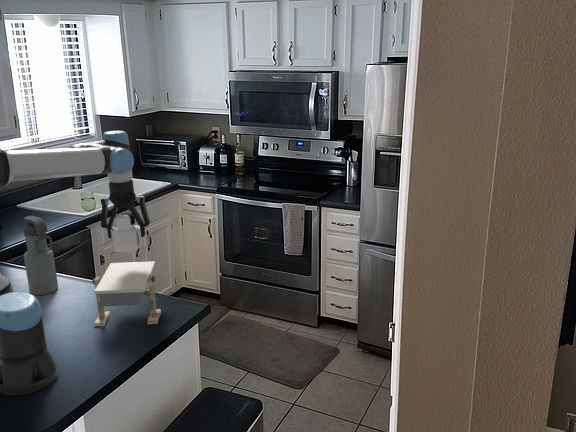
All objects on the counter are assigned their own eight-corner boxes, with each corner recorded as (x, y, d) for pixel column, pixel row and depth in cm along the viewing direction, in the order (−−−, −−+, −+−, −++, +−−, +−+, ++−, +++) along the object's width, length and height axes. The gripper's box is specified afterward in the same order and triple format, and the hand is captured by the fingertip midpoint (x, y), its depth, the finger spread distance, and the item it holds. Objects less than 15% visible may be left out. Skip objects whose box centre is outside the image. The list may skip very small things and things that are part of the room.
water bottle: (64, 288, 203) (53, 216, 195) (40, 298, 195) (28, 224, 187) (48, 282, 208) (36, 212, 200) (24, 292, 201) (11, 219, 192)
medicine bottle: (123, 244, 186) (119, 210, 182) (143, 245, 185) (139, 211, 181) (113, 251, 179) (109, 216, 176) (133, 252, 178) (129, 217, 174)
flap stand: (157, 323, 176) (153, 281, 171) (94, 326, 175) (88, 283, 170) (161, 312, 183) (157, 271, 179) (101, 315, 182) (95, 273, 178)
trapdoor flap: (145, 304, 171) (143, 289, 169) (96, 306, 170) (94, 291, 168) (156, 275, 190) (154, 261, 189) (112, 277, 189) (110, 263, 188)
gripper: (155, 176, 179) (161, 241, 186) (90, 178, 178) (99, 243, 185) (151, 181, 172) (158, 249, 179) (84, 183, 171) (93, 251, 178)
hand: (128, 246), depth 182 cm, fingers closed on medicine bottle, 8 cm apart
